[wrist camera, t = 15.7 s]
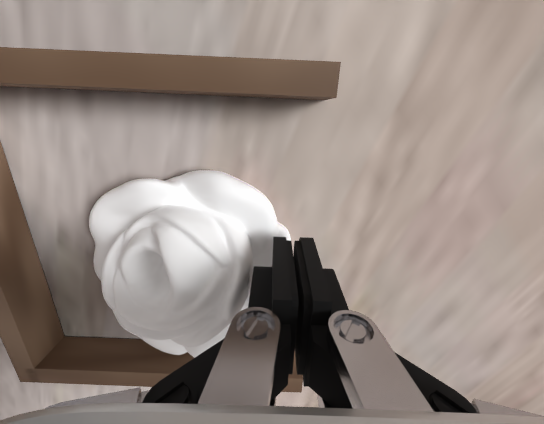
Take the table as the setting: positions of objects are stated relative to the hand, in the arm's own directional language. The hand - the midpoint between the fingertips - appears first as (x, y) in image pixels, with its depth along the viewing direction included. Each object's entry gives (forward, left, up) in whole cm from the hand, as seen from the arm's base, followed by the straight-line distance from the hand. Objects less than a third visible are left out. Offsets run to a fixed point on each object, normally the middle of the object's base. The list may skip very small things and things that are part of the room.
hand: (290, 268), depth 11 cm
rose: (+1, -5, -2) cm, 5 cm away
